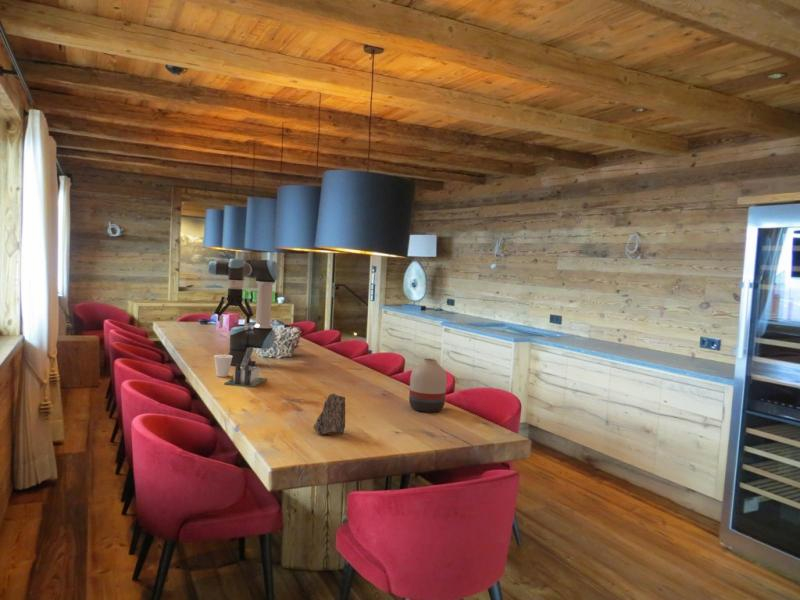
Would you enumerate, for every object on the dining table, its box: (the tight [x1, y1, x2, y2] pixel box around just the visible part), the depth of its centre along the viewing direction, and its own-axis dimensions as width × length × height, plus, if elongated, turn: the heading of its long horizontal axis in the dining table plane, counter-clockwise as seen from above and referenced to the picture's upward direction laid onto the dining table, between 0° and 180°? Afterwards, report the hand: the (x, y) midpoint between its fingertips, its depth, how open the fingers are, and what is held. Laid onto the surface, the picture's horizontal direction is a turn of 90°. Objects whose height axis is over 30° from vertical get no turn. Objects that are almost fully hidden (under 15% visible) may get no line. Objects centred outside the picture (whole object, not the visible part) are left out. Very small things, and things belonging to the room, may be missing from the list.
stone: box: [313, 393, 346, 436], centre depth 221 cm, size 13×13×15 cm
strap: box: [239, 348, 254, 370], centre depth 299 cm, size 15×3×1 cm
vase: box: [408, 358, 448, 413], centre depth 268 cm, size 17×17×24 cm
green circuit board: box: [223, 360, 268, 388], centre depth 301 cm, size 20×16×10 cm
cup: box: [213, 354, 233, 378], centre depth 312 cm, size 10×10×11 cm
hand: (233, 328), depth 300 cm, fingers open, 13 cm apart
